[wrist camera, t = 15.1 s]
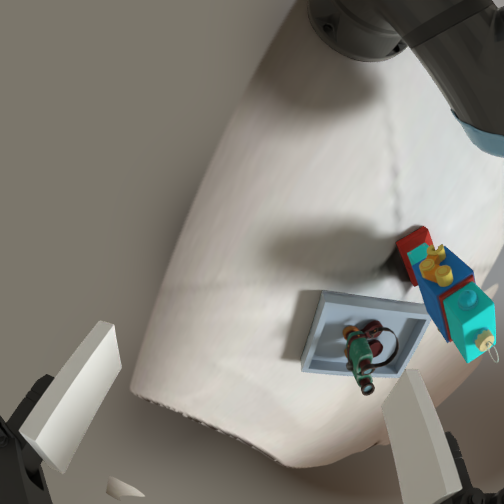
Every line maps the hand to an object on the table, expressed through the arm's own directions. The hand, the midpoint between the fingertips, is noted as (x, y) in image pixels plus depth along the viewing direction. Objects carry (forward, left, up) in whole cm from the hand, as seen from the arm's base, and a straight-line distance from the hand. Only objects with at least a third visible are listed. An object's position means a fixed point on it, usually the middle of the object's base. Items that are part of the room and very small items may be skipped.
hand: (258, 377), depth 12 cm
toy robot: (+4, +24, -32) cm, 40 cm away
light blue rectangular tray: (+20, +20, -32) cm, 42 cm away
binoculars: (+20, +20, -31) cm, 42 cm away
